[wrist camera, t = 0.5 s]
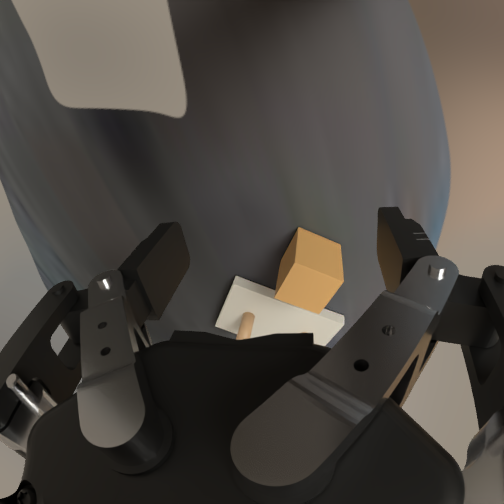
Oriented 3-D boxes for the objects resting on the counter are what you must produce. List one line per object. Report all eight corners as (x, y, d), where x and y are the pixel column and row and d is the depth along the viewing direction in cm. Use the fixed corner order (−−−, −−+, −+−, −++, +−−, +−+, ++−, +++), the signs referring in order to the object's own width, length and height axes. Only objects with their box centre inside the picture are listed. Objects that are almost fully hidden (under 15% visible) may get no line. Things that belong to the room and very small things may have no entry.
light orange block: (298, 227, 32) (294, 262, 27) (340, 244, 32) (343, 281, 27) (280, 261, 35) (274, 298, 30) (319, 276, 35) (318, 314, 30)
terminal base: (235, 275, 37) (225, 307, 33) (344, 315, 38) (345, 349, 34) (217, 318, 43) (207, 348, 38) (312, 351, 44) (310, 382, 39)
